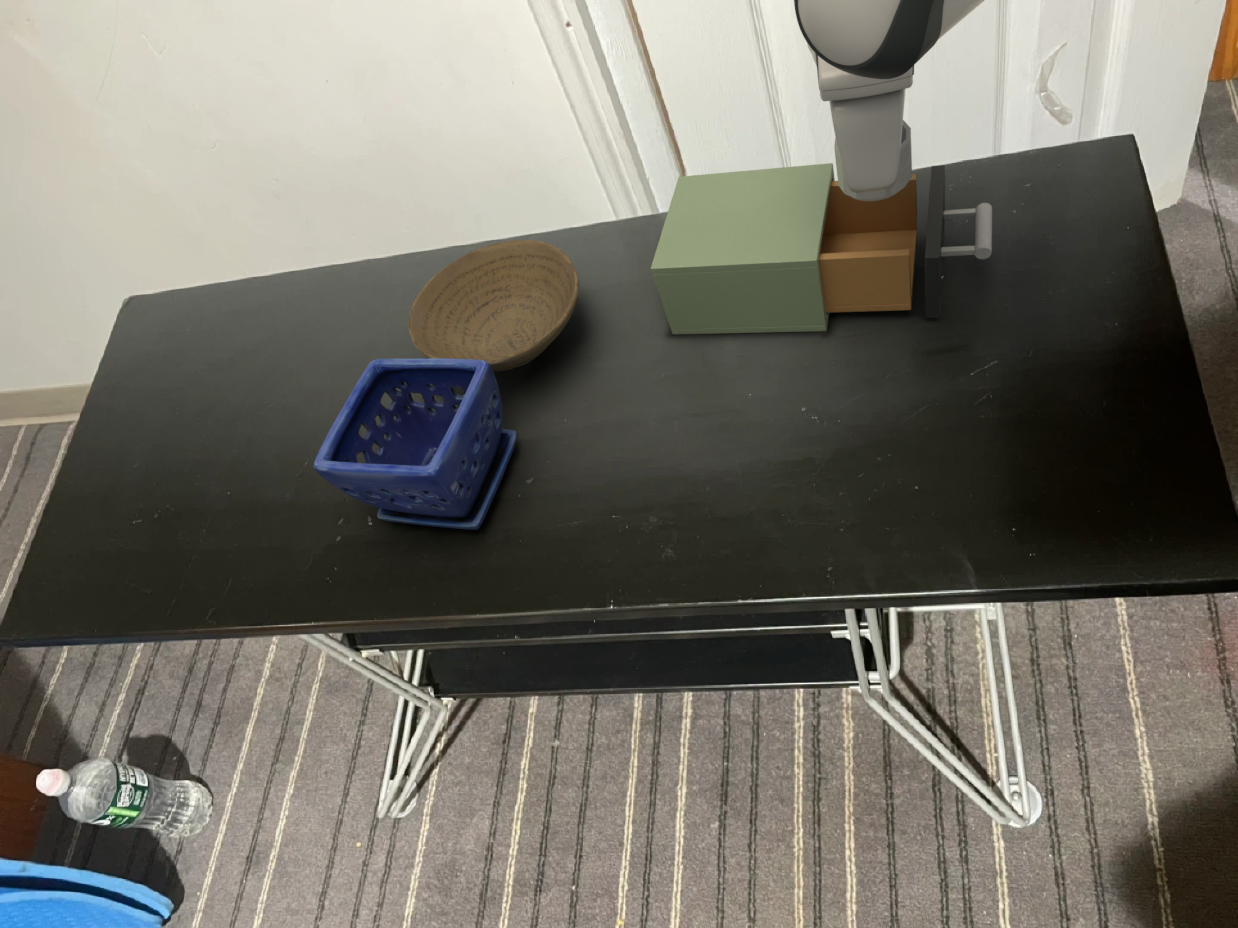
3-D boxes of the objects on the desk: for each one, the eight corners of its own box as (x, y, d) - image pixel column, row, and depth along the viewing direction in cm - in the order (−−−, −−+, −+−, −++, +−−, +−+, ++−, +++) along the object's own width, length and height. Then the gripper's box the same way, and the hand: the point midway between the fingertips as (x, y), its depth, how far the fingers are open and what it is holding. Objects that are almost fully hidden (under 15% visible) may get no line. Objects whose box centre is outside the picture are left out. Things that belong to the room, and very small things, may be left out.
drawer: (990, 223, 87) (993, 160, 81) (989, 316, 80) (992, 254, 74) (797, 235, 93) (788, 178, 88) (781, 321, 87) (770, 265, 81)
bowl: (603, 275, 100) (581, 219, 94) (595, 400, 89) (569, 346, 83) (452, 306, 104) (421, 254, 98) (427, 428, 93) (391, 378, 87)
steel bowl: (924, 165, 78) (924, 120, 75) (890, 211, 76) (888, 167, 72) (860, 153, 81) (857, 110, 78) (826, 197, 79) (820, 154, 76)
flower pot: (423, 430, 93) (367, 353, 84) (536, 435, 88) (489, 354, 79) (372, 538, 86) (305, 468, 77) (491, 551, 81) (434, 477, 72)
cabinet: (840, 235, 93) (832, 162, 86) (826, 331, 86) (816, 260, 79) (697, 244, 99) (678, 176, 92) (672, 334, 91) (650, 268, 84)
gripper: (824, -49, 73) (838, 100, 84) (817, 96, 62) (835, 247, 73) (904, -66, 71) (909, 89, 82) (913, 80, 60) (916, 238, 71)
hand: (874, 165), depth 77 cm, fingers closed on steel bowl, 6 cm apart
